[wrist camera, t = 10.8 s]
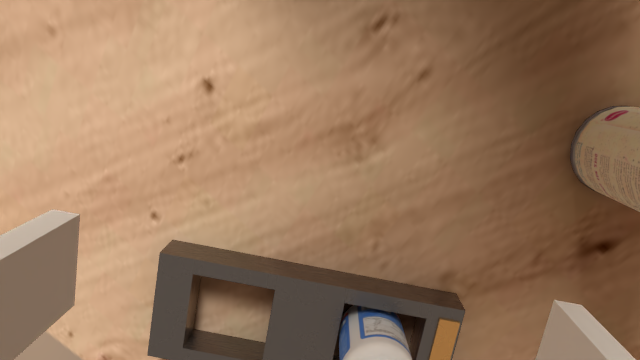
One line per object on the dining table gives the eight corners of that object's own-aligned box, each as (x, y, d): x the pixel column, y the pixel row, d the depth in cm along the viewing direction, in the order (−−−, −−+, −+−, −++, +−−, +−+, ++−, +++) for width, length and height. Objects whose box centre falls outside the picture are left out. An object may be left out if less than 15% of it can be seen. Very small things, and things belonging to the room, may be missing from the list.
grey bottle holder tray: (172, 239, 41) (159, 253, 38) (456, 293, 41) (465, 311, 38) (160, 336, 43) (146, 356, 40) (431, 387, 43) (438, 412, 40)
